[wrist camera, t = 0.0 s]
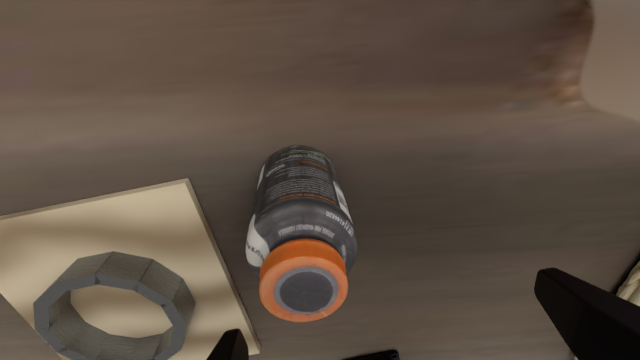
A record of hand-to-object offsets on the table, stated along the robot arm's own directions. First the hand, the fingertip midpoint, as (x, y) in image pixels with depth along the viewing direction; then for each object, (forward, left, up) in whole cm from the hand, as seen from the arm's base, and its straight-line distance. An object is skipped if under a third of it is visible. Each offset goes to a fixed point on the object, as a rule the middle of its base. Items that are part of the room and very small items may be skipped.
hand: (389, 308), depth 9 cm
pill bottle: (-2, +3, -15) cm, 15 cm away
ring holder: (-10, +20, -15) cm, 27 cm away
